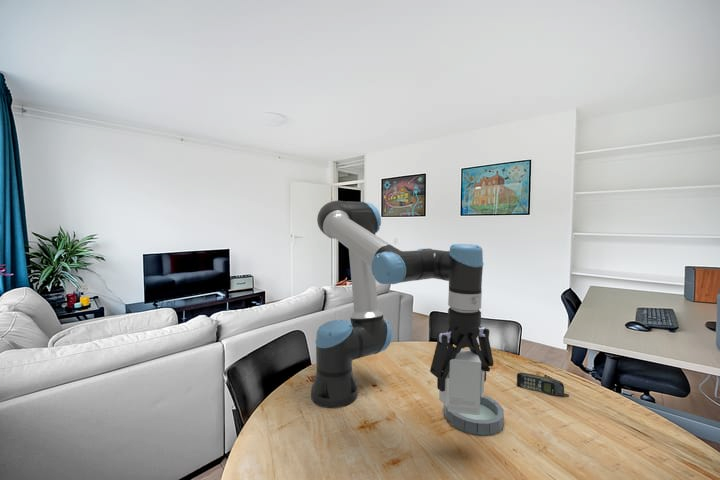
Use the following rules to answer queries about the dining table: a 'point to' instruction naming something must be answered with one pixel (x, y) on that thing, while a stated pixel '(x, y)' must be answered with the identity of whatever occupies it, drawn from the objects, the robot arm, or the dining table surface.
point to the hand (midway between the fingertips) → (461, 398)
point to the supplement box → (465, 383)
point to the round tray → (479, 418)
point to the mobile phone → (540, 384)
